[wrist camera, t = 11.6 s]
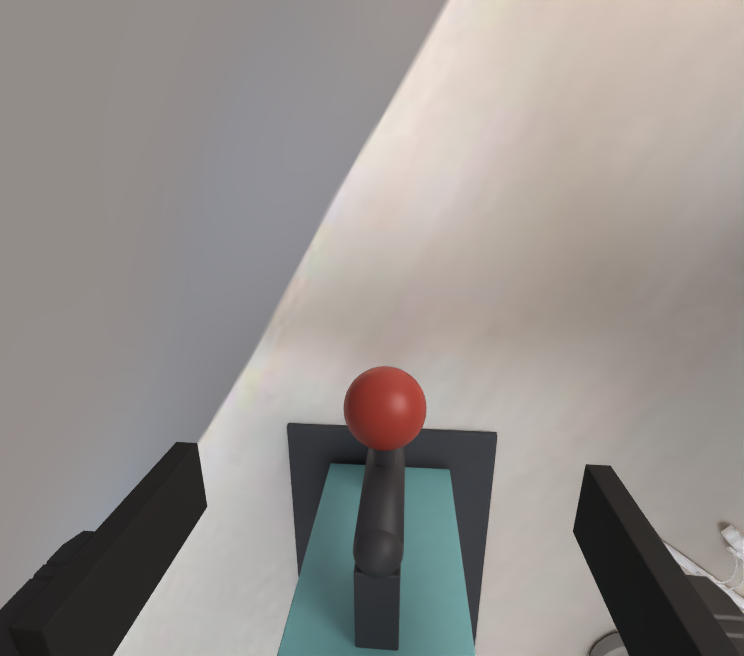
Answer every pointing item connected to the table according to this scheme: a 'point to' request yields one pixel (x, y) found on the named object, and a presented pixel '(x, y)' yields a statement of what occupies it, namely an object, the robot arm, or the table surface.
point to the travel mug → (610, 646)
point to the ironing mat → (427, 450)
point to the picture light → (740, 543)
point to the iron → (382, 542)
